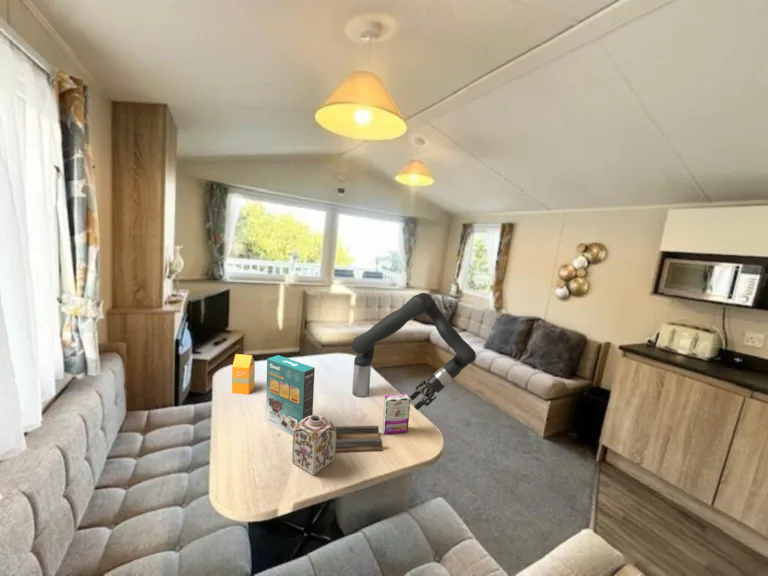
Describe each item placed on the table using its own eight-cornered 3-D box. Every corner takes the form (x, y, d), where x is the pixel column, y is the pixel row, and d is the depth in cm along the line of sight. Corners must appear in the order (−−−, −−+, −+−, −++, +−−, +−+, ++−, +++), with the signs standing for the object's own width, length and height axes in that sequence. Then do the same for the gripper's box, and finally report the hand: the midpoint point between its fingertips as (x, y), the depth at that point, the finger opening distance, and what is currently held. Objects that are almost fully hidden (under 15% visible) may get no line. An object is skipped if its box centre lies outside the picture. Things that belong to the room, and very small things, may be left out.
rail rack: (331, 432, 148) (332, 424, 147) (377, 430, 151) (377, 423, 151) (332, 452, 134) (332, 444, 134) (381, 450, 138) (382, 442, 137)
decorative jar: (291, 462, 127) (292, 418, 124) (313, 448, 136) (315, 406, 133) (313, 477, 120) (316, 430, 117) (335, 460, 130) (338, 417, 127)
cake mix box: (311, 433, 146) (314, 367, 141) (301, 440, 140) (304, 372, 136) (276, 416, 156) (278, 355, 152) (265, 422, 151) (267, 358, 147)
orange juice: (248, 394, 175) (249, 357, 172) (231, 393, 175) (231, 356, 172) (254, 387, 183) (255, 352, 180) (238, 386, 183) (238, 351, 180)
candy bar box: (404, 426, 157) (407, 393, 154) (407, 432, 152) (411, 398, 149) (381, 428, 154) (383, 394, 151) (384, 434, 149) (386, 400, 146)
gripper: (430, 367, 158) (404, 390, 158) (440, 380, 144) (411, 406, 144) (439, 378, 160) (414, 401, 160) (450, 392, 146) (422, 417, 146)
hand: (413, 403), depth 152 cm, fingers open, 8 cm apart
